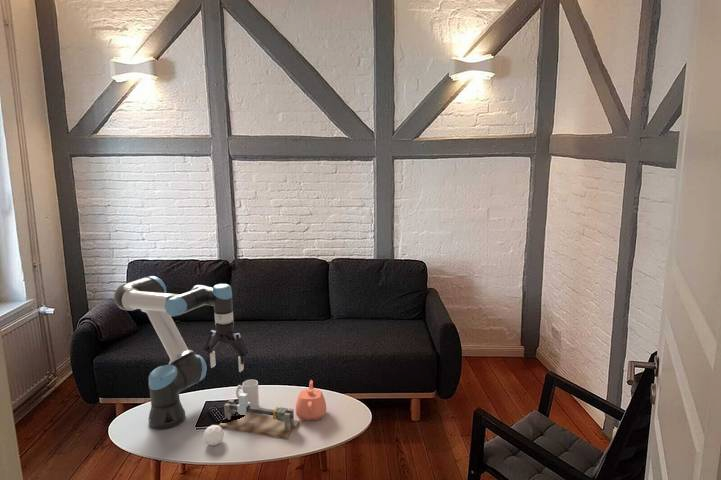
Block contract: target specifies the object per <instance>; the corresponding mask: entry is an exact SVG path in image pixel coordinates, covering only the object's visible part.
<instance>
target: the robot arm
mask: <svg viewBox="0 0 721 480" xmlns="http://www.w3.org/2000/svg"><path fill="white" fill-rule="evenodd" d="M113 303H114V304H115V305H116V306H117V307H118V308H119V309H120V310H123V311H131V312H132V311H135V310H140V311H141V312H143V313H146V315H147V317H148V319H149V321H150V323H151V324H152V326H153V329H154V330H155V333H156V334H157V336H158V338H159V340H160V341H161V343H162V346H163V348H164V349H165V351H166V354H167V355H168V357H169V362H168V364H164V365H159V366H157V367H156V368H154V369H153V370H152V371H150V373H149V375H148V388H149V396H150V404H151V405H150V410H149V415H148V425H149V427H150V428H152V429H155V430H166V429H168V430H169V429H172V428H174V427H177V426H179V425H180V424H182V423H183V422H184V421H185V420H186V411H185V409H184V408H183V407H184V406H183V405H182V403H181V402H182V401H181V400H180V393H181V392H183V391H185V390H186V389H188V388H191V387H192V386H194V385H197V384H198V383H199V382H201V381H202V380H204V379H205V377H206V375H207V370H208V369H207V363H206V361H205V359H204V358H203V357H202V356H201V355H200V354H195V351H193V350H192V349H189V348H188V347H187V344H186V343H185V340H184V338H183V337H182V335H181V333H180V331H179V329H178V326H177V325H176V323H175V322H174V319H173V318H172V317H177V316H181V315H183V314H186V313H189V312H190V311H193V310H196V309H198V308H200V307H203V306H210V307H213V313H214V326H215V327H214V329H211V330H210V331H209V333H208V337H207V340H206V343H205V344H204V347H203V351H204V352H207V355H208V360H210V368H211V369H212V368H214V367H215V366H216V364H217V363H216V351H215V350H214V349H216V348H217V346H218V344H219V343H221V344H228V345H229V346H231V347H232V348H233V350H234V351H235V352H236V353H237V355H238V357H237V358H238V372H239V373H241V372H243V371H244V368H245V366H244V364H245V362H246V357H247V356H248V355H249V354H250V352H249V350H248V348H247V346H246V343H245V342H244V340H243V337H242V333H241V332H238V333H235V331H234V330H235V325H234V324H235V321H234V309H233V308H234V305H233V292H232V286H231V285H230V284H227V283H218V284H217V283H216V284H215V285H214V286H213V287H211V286H208V285H204V284H196V285H194V286H193V287H191V290H189V291H187V292H186V291H185V292H184V293H181V294H178V293H167V286H166V285H165V283H164V281H163V280H162V279H161V278H159V277H158V276H155V275H149V276H144V277H142V278H138V279H135V280H132V281H129V282H125V283H123V284H121V285H120V286H118V287H117V288H116V290H115V291H114V295H113ZM215 337H217V338H216V339H215V341H214V342H213V339H214V338H215ZM212 342H213V343H212Z"/></svg>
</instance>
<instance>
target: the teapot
mask: <svg viewBox="0 0 721 480" xmlns="http://www.w3.org/2000/svg"><path fill="white" fill-rule="evenodd" d="M326 411H327V403H326V400H325V397H324V394H323V392H322V391H321V389H317V388H314V382H313V380H312V379H310V380H309V387H308V389H302V390H301V391H300V392H299V395H298V396H297V399H296V403H295V415H296V416H297V418H298V419H300V420H301V421H302V422H306V421H311V420H316V421H320V420H321V419H322V418H323V417H324V416H325V414H326Z"/></svg>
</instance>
